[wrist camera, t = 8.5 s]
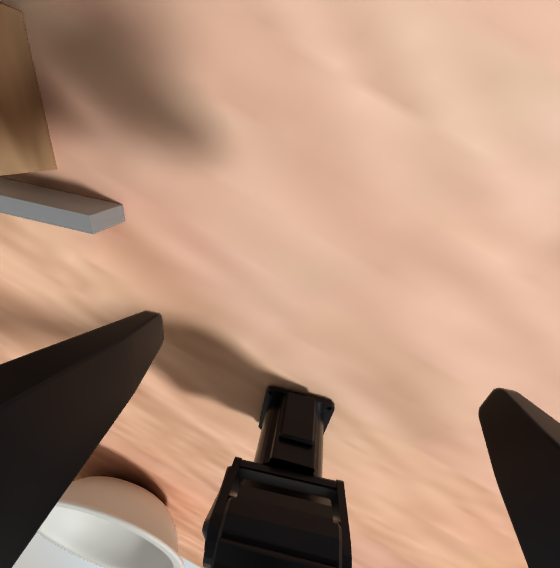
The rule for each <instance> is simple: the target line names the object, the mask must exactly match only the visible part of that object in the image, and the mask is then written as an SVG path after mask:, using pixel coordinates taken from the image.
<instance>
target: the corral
mask: <svg viewBox="0 0 560 568" xmlns="http://www.w3.org/2000/svg"><path fill="white" fill-rule="evenodd" d="M0 213H4V214H9V215H13V216H17V217H22V218H26V219H30V220H35V221H39V222H43V223H47V224H52V225H56V226H60V227H65V228H69V229H73V230H77V231H82V232H86V233H90V234H95V233H97V232H100V231H102V230H105V229H107V228H110V227H112V226H114V225H117V224H119V223H122V222H124V221H125V218H124V210H123V205H121V204H117V203H112V202H108V201H103V200H99V199H95V198H90V197H86V196H81V195H77V194H72V193H68V192H63V191H59V190H54V189H50V188H45V187H41V186H36V185H32V184H28V183H23V182H19V181H14V180H10V179H5V178H1V177H0Z"/></svg>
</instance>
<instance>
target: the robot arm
mask: <svg viewBox="0 0 560 568" xmlns="http://www.w3.org/2000/svg"><path fill="white" fill-rule="evenodd" d="M163 340H164V330H163V320H162V316H161V314H159V313H156V312H152V311H143V312H140V313H138V314H135V315H132V316H130V317H127V318H124V319H122V320H119V321H116V322H114V323H111V324H108V325H105V326H103V327H100V328H97V329H95V330H92V331H89V332H87V333H84V334H81V335H78V336H76V337H73V338H70V339H68V340H65V341H62V342H60V343H57V344H54V345H51V346H49V347H46V348H43V349H41V350H38V351H35V352H33V353H30V354H27V355H24V356H22V357H19V358H16V359H14V360H11V361H8V362H6V363H3V364H0V568H12V567H13V565H14V564H15V562H16V561H17V559H18V558H19V556H20V555H21V554H22V552H23V551H24V549H25V548H26V547H27V545H28V544H29V542H30V541H31V539H32V538H33V537H34V535H35V534H36V532H37V531H38V530H39V528H40V527H41V525H42V524H43V522H44V521H45V520H46V518H47V517H48V515H49V514H50V512H51V511H52V510H53V508H54V507H55V505H56V504H57V502H58V501H59V500H60V498H61V497H62V495H63V494H64V493H65V491H66V490H67V488H68V487H69V485H70V484H71V483H72V481H73V480H74V478H75V477H76V475H77V474H78V473H79V471H80V470H81V468H82V467H83V466H84V464H85V463H86V461H87V460H88V458H89V457H90V456H91V454H92V453H93V451H94V450H95V448H96V447H97V446H98V444H99V443H100V441H101V440H102V438H103V437H104V436H105V434H106V433H107V431H108V430H109V429H110V427H111V426H112V424H113V423H114V421H115V420H116V419H117V417H118V416H119V414H120V413H121V411H122V410H123V409H124V407H125V406H126V404H127V403H128V401H129V400H130V399H131V397H132V396H133V394H134V393H135V391H136V389H137V388H138V386H139V384H140V383H141V381H142V379H143V377H144V375H145V374H146V372H147V370H148V368H149V367H150V365H151V363H152V361H153V359H154V358H155V356H156V354H157V352H158V350H159V349H160V347H161V345H162V343H163ZM334 408H335V407H334V403H333V402H331V401H328V400H324V399H320V398H316V397H312V396H309V395H305V394H301V393H297V392H293V391H289V390H285V389H282V388H278V387H274V386H269V387H267V390H266V395H265V399H264V404H263V408H262V413H261V417H260V422H259V428H260V429H261V434H260V438H259V443H258V447H257V451H256V455H255V459H254V462H251V461H246V460H242V458H239V457H235V459H234V461H233V464H232V466H229V467H227V470H226V473H225V477H224V480H223V483H222V486H221V488H220V491H219V493H218V495H217V497H216V499H215V501H214V503H213V505H212V507H211V509H210V511H209V513H208V515H207V517H206V519H205V522H204V525H203V528H202V532H203V535H204V538H205V548H204V550H205V552H204V558H203V567H204V568H352V554H351V540H350V531H349V523H348V514H347V506H346V498H345V489H344V481H341V480H336V481H334V480H330V479H326V478H322V461H323V434H324V432H325V430H326V428H327V425H328V423H329V421H330V418H331V416H332V414H333V412H334ZM478 414H479V420H480V424H481V427H482V431H483V435H484V438H485V442H486V446H487V449H488V453H489V456H490V460H491V464H492V467H493V471H494V474H495V478H496V481H497V484H498V487H499V490H500V492H501V495H502V498H503V501H504V503H505V506H506V509H507V511H508V514H509V517H510V519H511V522H512V525H513V527H514V530H515V533H516V535H517V538H518V541H519V543H520V546H521V549H522V551H523V554H524V557H525V559H526V562H527V565H528V567H529V568H560V423H559V422H557V421H556V420H555V419H553V418H552V417H551V416H549V415H548V414H547V413H545V412H544V411H542V410H541V409H540V408H538V407H537V406H536V405H534V404H533V403H532V402H530V401H529V400H528V399H526V398H525V397H523V396H522V395H521V394H519V393H518V392H516V391H513V390H508V389H504V388H496V389H494V390H493V391H492V392H491V393H490V395H489V396H488V397H487V398H486V400H485V401H484V402H483V404H482V405H481V406H480V408H479V413H478Z"/></svg>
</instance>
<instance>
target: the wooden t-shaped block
mask: <svg viewBox="0 0 560 568" xmlns="http://www.w3.org/2000/svg"><path fill="white" fill-rule="evenodd" d="M53 169H57V166H56V161H55V157H54V153H53V148H52V144H51V140H50V135H49V131H48V127H47V122H46V118H45V114H44V109H43V105H42V100H41V96H40V92H39V87H38V83H37V79H36V74H35V70H34V66H33V61H32V57H31V52H30V48H29V44H28V39H27V35H26V31H25V26H24V22H23V18H22V13H21V11H18V10H16V9H13V8H11V7H8V6H6V5H3V4H1V3H0V176H2V175H11V174H19V173H28V172H36V171H45V170H53Z"/></svg>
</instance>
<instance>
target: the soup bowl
mask: <svg viewBox="0 0 560 568" xmlns="http://www.w3.org/2000/svg"><path fill="white" fill-rule="evenodd" d="M37 533H39V534H40V535H41V536H43V537H44V538H45V539H47V540H49V541H50V542H52V543H53V544H55V545H57V546H58V547H60V548H62V549H64V550H66V551H68V552H69V553H72V554H74V555H76V556H78V557H80V558H82V559H84V560H87V561H89V562H91V563H94V564H96V565H99V566H102V567H104V568H184V563H183V560H182V559H181V557H180V556H179V554H178V538H177V532H176V527H175V524H174V521H173V518H172V516H171V514H170V512H169V510H168V509H167V507H166V506H165V505H164V504H163V503H162V502H161V501H160V500H159V499H158V498H157V497H156V496H155V495H153V494H152V493H150V492H149V491H147V490H146V489H144V488H142V487H140V486H138V485H136V484H134V483H131V482H128V481H125V480H122V479H118V478H113V477H106V476H93V477H86V478H82V479H78V480H75V481H72V483H71V484H70V485H69V487H68V488H67V490H66V491H65V493H64V494H63V495H62V497H61V498H60V500H59V501H58V502H57V504H56V505H55V507H54V508H53V510H52V511H51V512H50V514H49V515H48V517H47V518H46V520H45V521H44V522H43V524H42V525H41V527H40V528H39V530H38V531H37Z"/></svg>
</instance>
